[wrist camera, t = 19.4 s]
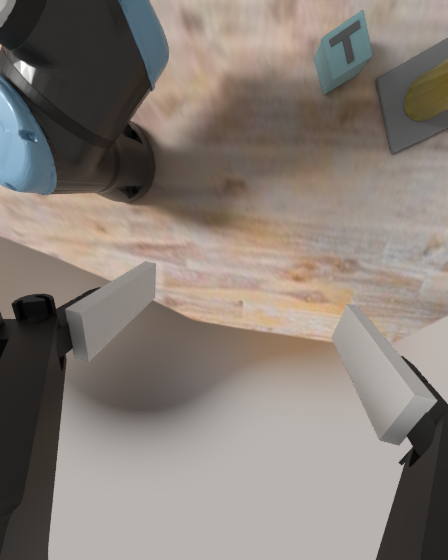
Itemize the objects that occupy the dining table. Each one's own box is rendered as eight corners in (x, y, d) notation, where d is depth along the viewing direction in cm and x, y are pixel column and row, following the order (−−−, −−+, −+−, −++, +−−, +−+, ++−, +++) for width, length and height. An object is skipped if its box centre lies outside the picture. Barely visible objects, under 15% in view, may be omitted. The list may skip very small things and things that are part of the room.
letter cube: (323, 95, 34) (333, 79, 29) (313, 59, 32) (322, 37, 28) (357, 74, 32) (373, 55, 27) (348, 36, 31) (363, 8, 26)
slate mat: (390, 154, 35) (392, 153, 34) (375, 80, 32) (377, 78, 31) (473, 115, 31) (477, 113, 31) (465, 28, 28) (469, 24, 28)
